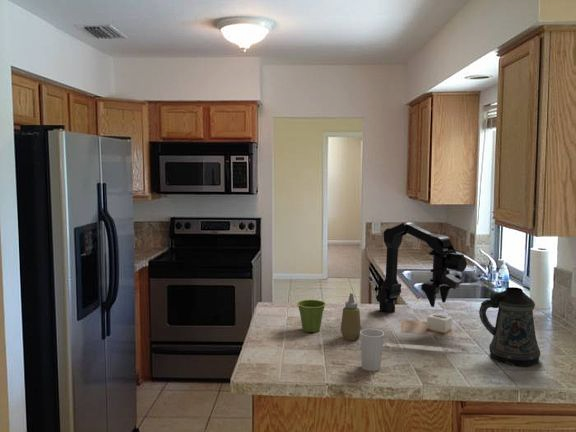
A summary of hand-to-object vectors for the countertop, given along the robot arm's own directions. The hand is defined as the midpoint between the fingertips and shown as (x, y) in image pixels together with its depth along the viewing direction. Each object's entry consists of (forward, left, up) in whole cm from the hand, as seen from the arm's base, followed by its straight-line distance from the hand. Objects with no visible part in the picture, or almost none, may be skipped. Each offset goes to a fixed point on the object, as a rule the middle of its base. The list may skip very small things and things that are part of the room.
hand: (438, 304), depth 205 cm
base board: (-4, -3, -11) cm, 12 cm away
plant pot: (-50, -13, -11) cm, 53 cm away
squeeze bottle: (-33, -19, -11) cm, 40 cm away
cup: (-23, -45, -11) cm, 52 cm away
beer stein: (+24, -25, -11) cm, 36 cm away
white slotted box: (+1, -3, -9) cm, 10 cm away
